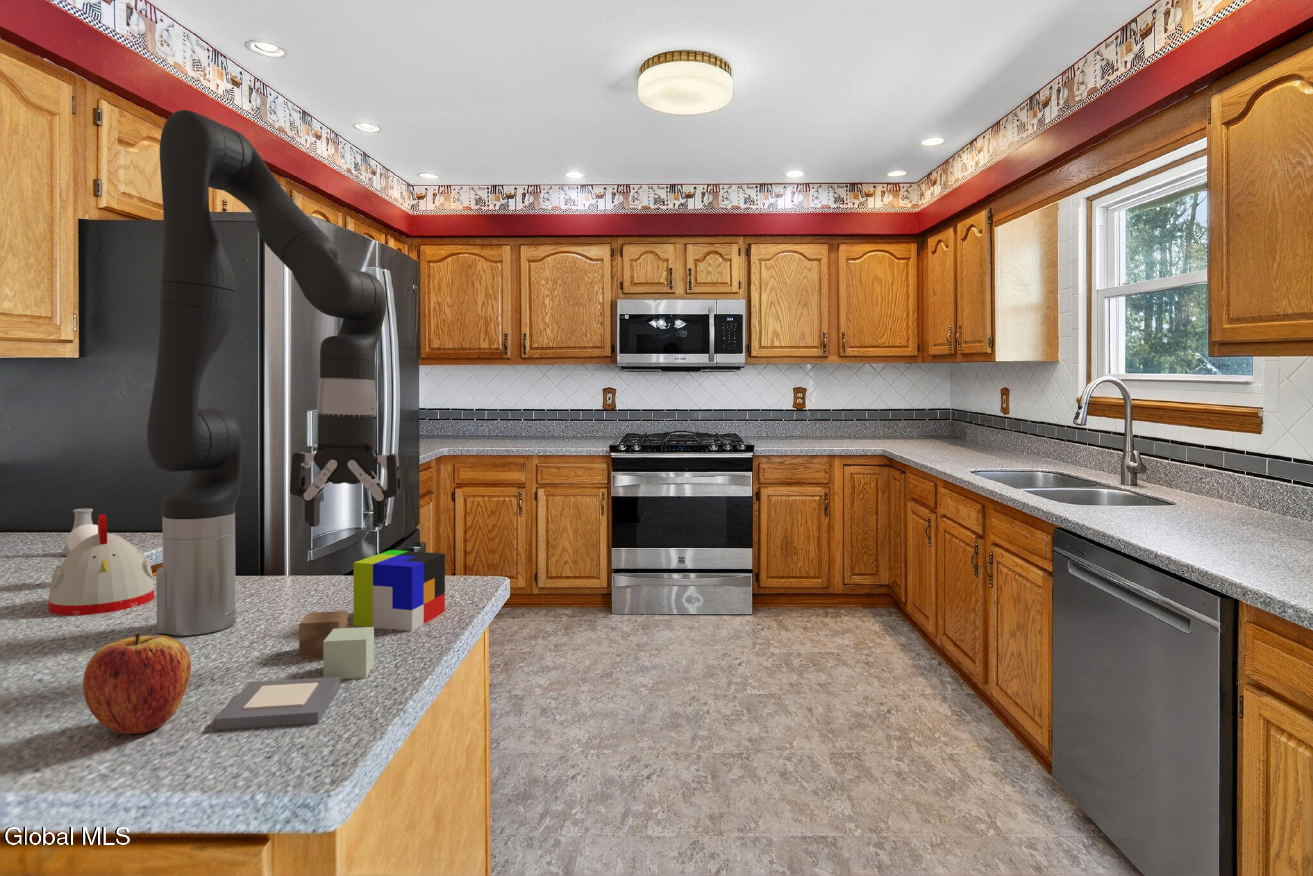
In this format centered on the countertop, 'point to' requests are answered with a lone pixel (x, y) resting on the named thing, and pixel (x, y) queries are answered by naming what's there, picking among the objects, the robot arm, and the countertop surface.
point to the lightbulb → (81, 535)
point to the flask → (79, 523)
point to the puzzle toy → (399, 589)
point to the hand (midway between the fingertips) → (346, 526)
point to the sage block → (349, 652)
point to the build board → (279, 703)
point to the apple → (137, 682)
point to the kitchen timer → (101, 576)
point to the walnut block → (318, 632)
